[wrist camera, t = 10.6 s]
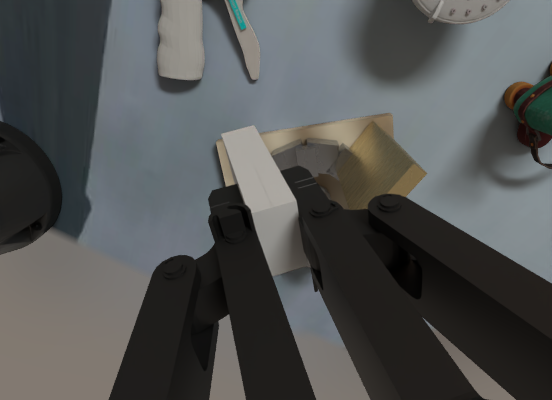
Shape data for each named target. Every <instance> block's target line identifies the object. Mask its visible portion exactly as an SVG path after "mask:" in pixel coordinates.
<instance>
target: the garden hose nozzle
mask: <svg viewBox="0 0 552 400" xmlns="http://www.w3.org/2000/svg"><path fill="white" fill-rule="evenodd" d="M160 1H161V7H162V15H161V17H160V19H159V22H158V33H159V36H160V45H159V47H158V51H157V65H158V72H159V75H160V76H163V77H168V78H173V79H181V80H199V79H201V78H202V74H203V69H204V65H205V55H204V47H203V42H202V28H203V18H202V0H160ZM224 1H225V3H226V6H227V9H228V12H229V15H230V18H231V21H232V24H233V27H234V30H235V33H236V35H237V38H238V40H239V43H240V45H241V48H242V51H243V54H244V58H245V63H246V66H247V69H248V71H249V74H250V77H251V79H253V80H257V79H258V77H259V66H260V47H259V43H258V40H257V37H256V35H255V33H254V31H253V29H252V27H251V25H250V23H249V21H248V19H247V17H246V15H245V13H244V11H243V6H242V5H243V0H224Z"/></svg>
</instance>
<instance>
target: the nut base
mask: <svg viewBox="0 0 552 400" xmlns="http://www.w3.org/2000/svg"><path fill="white" fill-rule="evenodd" d="M372 120H373V121H374V122H376V123H377V124H378V125H379V126H381V127H382V128H383V129H384V130H385V131H386V132H387V133H388V134H389V135H390V136H391V137H392V138H393V139H394V136H393V116H392V114H390V113H386V114H379V115H373V116H366V117H360V118H354V119H347V120H341V121H334V122H328V123H321V124H315V125H309V126H302V127H296V128H289V129H283V130H276V131H270V132H264V133H259V135H260V137H261V138H262V140H263V142H264V144H265V146H266V147H267V149H268V151H269V153H270V154H271V156H272V152H273V150H275V149H277V148H279V147H282V146H284V145H286V144H289V143H291V142H293V141H296V140H298V139H300V138H301V141H302V143H303V145H304V146H305V145H306V138H317V139H327V140H337V142H338V144H339V147H340V145H341V144H342V143H344V144H345V145H347V146H348V147H349V148H350V147H351V146H352V145H353V144H354V142H355V141H356V140H357V139H358V138H359V136H360V135H361V134H362V133H363V131H364V130H365V129H366V128H367V127H368V125H369V124H370V123H371V122H372ZM216 145H217V149H218V154H219V158H220V162H221V167H222V171H223V176H224V180H225V184H226V187H227V186H230V185H234V184H235V183H234V180H233V176H232V172H231V169H230V165H229V161H228V157H227V154H226V150H225V146H224V143H223V139H219V140H217V142H216ZM313 178H314V179H315V180H316V182H317V183H318V184H319V186H320V187H321V189H322V190H323V192H324V193H325V194H326V196H327V197H328V199H329V200H332V201H335V202H337V203H339V204H340V205H341V206H342V207H343V209H347V210H349V207H348V204H347V201H346V198H345V196H344V193H343V190H342V187H341V184H340V181H338V180H337V179H336V178H334V177H333V176H331V175H330V174H321V173H318V177H313Z"/></svg>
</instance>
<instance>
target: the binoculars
mask: <svg viewBox="0 0 552 400" xmlns="http://www.w3.org/2000/svg"><path fill="white" fill-rule="evenodd" d="M550 75H551V76H549V77H548V78H546V79H544V80H542V81H541V82H539V83H538V84H536V85H535V86H533V85H532V84H529V83H526V82H517V83H514V84H513V85H511V86H510V87H509V88H508V89H507V91H506V93H505V96H504V100H505V103H506V105H507V106H508V107H509V108H510V109H512V110H514V114H515V116H516V118H517V119H518V121H519V122H521V123H520V125H519V128H518V132H517V137H518V140H519V142H520V143H522V144H524V145H526V146H528V147H530V148H531V154H532V156H533V158H534V160H535V161H536V162H538V163H539V164H541V165H543V166H545V167H547V168H549V169H552V164H543V163H541V161H540V159H539V156H538V148H540V147H543V146H544V145H546V144H547V143H548V142H549V141H550V140H551V139H552V64H551V66H550Z"/></svg>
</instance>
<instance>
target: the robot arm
mask: <svg viewBox="0 0 552 400" xmlns="http://www.w3.org/2000/svg"><path fill="white" fill-rule="evenodd" d="M221 135H222V139H223V143H224V146H225V150H226V154H227V157H228V161H229V165H230V169H231V172H232V176H233V180H234V183H235V184H234V185H230V186H227V187H223V188H220V189H216V190H212V192H211V194H210V196H209V198H208V200H209V206H210V211H211V215H210V216H209V219H208V223H209V226H210V229H211V232H212V235H213V238H214V241H215V244H214V245H213V247H212V248H211V249H210V250H209V251H208V252H207V253H206V254H204V255H203V256H201V257H199V258H198V259H196V260H194V259H193V258H192V257H190V256H187V255H178V256H174V257H171V258H169V259H167V260H165V261H163V262H162V263H161V264H160V265H158V266H157V267H156V269H155V271H154V272H153V274H152V277H151V280H150V283H149V286H148V289H147V291H146V294H145V297H144V300H143V303H142V306H141V309H140V311H139V314H138V317H137V320H136V323H135V326H134V329H133V332H132V334H131V337H130V340H129V343H128V346H127V349H126V352H125V354H124V357H123V360H122V363H121V366H120V369H119V372H118V374H117V378H116V380H115V383H114V386H113V389H112V392H111V394H110V397H109V400H209V396H210V389H211V381H212V373H213V366H214V359H215V351H216V343H217V336H218V329H219V323H218V321H219V320H220V319H222V318H224V317H225V316H227V315H228V314H229V315H230V320H231V325H232V330H233V335H234V341H235V346H236V350H237V355H238V361H239V366H240V370H241V376H242V381H243V386H244V391H245V396H246V400H316V398H315V395H314V392H313V389H312V386H311V384H310V381H309V378H308V375H307V372H306V370H305V367H304V364H303V361H302V358H301V356H300V353H299V350H298V347H297V344H296V342H295V339H294V336H293V333H292V330H291V328H290V325H289V322H288V319H287V316H286V313H285V311H284V308H283V305H282V302H281V299H280V297H279V294H278V291H277V288H276V285H275V283H274V280H273V276H276V275H279V274H282V273H286V272H289V271H292V270H295V269H299V268H302V267H305V266H308V265H307V259H308V261H309V263H310V266H311V272H312V278H313V284H314V290H315V292H317V291H318V289H319V292H320V294H321V296H322V298H323V300H324V302H325V304H326V306H327V308H328V311H329V313H330V315H331V317H332V319H333V321H334V323H335V325H336V327H337V330H338V332H339V334H340V336H341V338H342V340H343V342H344V344H345V347H346V349H347V351H348V353H349V355H350V357H351V359H352V361H353V363H354V366H355V367H356V370H357V372H358V374H359V376H360V378H361V380H362V382H363V385H364V387H365V389H366V391H367V393H368V395H369V397H370V399H371V400H487V399H483V398H482V397H481V396H480V395H479V394H478V393H477V392H476V391H475V390H474V388H473V387H472V385H471V384H470V383H469V382H468V380H467V378H466V377H465V376H464V374H463V373H462V372H461V371H460V369H459V367H458V366H457V365H456V363H455V362H454V361H453V359H452V358H451V356H450V355H449V354H448V352H447V351H446V350H445V348H444V347H443V345H442V344H441V343H440V341H439V340H438V339H437V337H436V336H435V334H434V333H433V332H432V330H431V329H430V327H429V326H428V325H427V323H426V322H425V321H424V319H425V320H426V321H427V322H428V323H430V324H431V325H432V326H433V327H434V328H435V329H436V330H438V331H439V332H440V333H441V334H442V335H443V336H445V337H446V338H447V339H448V340H449V341H450V342H451V343H452V344H454V345H455V346H456V347H457V348H458V349H459V350H460V351H462V352H463V353H464V354H465V355H466V356H467V357H468V358H469V359H471V360H472V361H473V362H474V363H475V364H477V366H479V367H480V368H481V369H482V370H483V371H484V372H485V373H487V374H488V375H489V376H490V377H491V378H492V379H493V380H495V381H496V382H497V383H498V384H499V385H500V386H501V387H502V388H504V389H505V390H506V391H507V392H508V393H509V394H510V395H511V396H513V397H514V398H515V399H516V400H552V283H550V282H548V281H546V280H545V279H543V278H541V277H540V276H538V275H536V274H535V273H533V272H531V271H530V270H528V269H526V268H524V267H523V266H521V265H519V264H518V263H516V262H514V261H513V260H511V259H509V258H508V257H506V256H504V255H502V254H501V253H499V252H497V251H496V250H494V249H492V248H491V247H489V246H487V245H486V244H484V243H482V242H480V241H479V240H477V239H475V238H474V237H472V236H470V235H469V234H467V233H465V232H464V231H462V230H460V229H458V228H457V227H455V226H453V225H452V224H450V223H448V222H447V221H445V220H443V219H442V218H440V217H438V216H436V215H435V214H433V213H431V212H430V211H428V210H426V209H425V208H423V207H421V206H420V205H418V204H416V203H414V202H413V201H411V200H409V199H408V198H406V197H404V196H401V195H398V194H382V195H379V196H375V197H374V198H373V199H371V200H370V201H369V203H368V209H359V210H347V209H343V207H342V206H341V205H340V204H339V203H337V202H335V201H332V200H329V199H328V197H327V196H326V194H325V193H324V192H323V190H322V189H321V187H320V186H319V184H318V183H317V182H316V180H315V179H314V178H313V176H312V174H311V173H310V172H309V170H308V169H306V168H303V167H301V166H295V167H292V168H288V169H285V170H281V171H279V169H278V167H277V165H276V163H275V162H274V160H273V158H272V156H271V154H270V153H269V151H268V149H267V147H266V146H265V144H264V142H263V140H262V138H261V137H260V135H259V133H258V131H257V130H256V128H255V126H254V125H253V126H249V127H246V128H242V129H238V130H234V131H230V132H226V133H223V134H221ZM61 202H62V193H61V186H60V182H59V178H58V176H57V173H56V171H55V169H54V167H53V165H52V163H51V161H50V160H49V158H48V157H47V155H46V154H45V153H44V152H43V150H42V149H41V148H40V147H39V146H38V145H37V144H36V143H35V142H34V141H33V140H32V139H30V138H29V137H28V136H27V135H25V134H24V133H22V132H21V131H19V130H18V129H16V128H14V127H12V126H11V125H8V124H6V123H4V122H1V121H0V255H1V254H4V253H7V252H11V251H14V250H17V249H20V248H23V247H25V246H27V245H29V244H31V243H33V242H34V241H36V240H37V239H38V238H39V237H40V236H42V235H43V234H44V233H45V232H47V231H48V230H49V229H50V228H51V227H52V225H53V224H54V223H55V221H56V219H57V217H58V215H59V212H60V208H61ZM306 257H307V259H306ZM317 287H318V288H317ZM422 317H423V318H424V319H423V318H422Z"/></svg>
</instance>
